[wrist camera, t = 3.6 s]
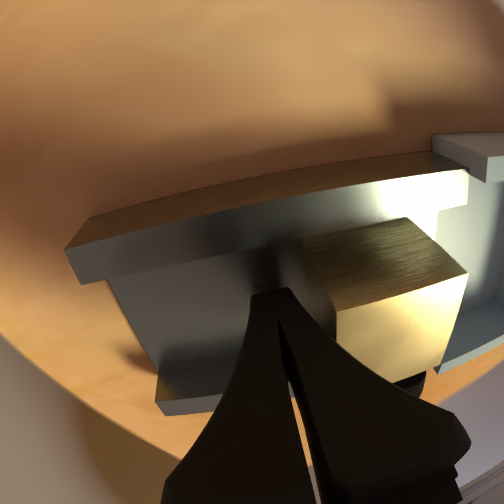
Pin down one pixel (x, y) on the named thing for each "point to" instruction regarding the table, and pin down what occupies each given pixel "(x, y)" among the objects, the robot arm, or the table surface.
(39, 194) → the table surface
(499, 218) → the tray
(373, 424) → the robot arm
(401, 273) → the yellow cube
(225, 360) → the slot bed
